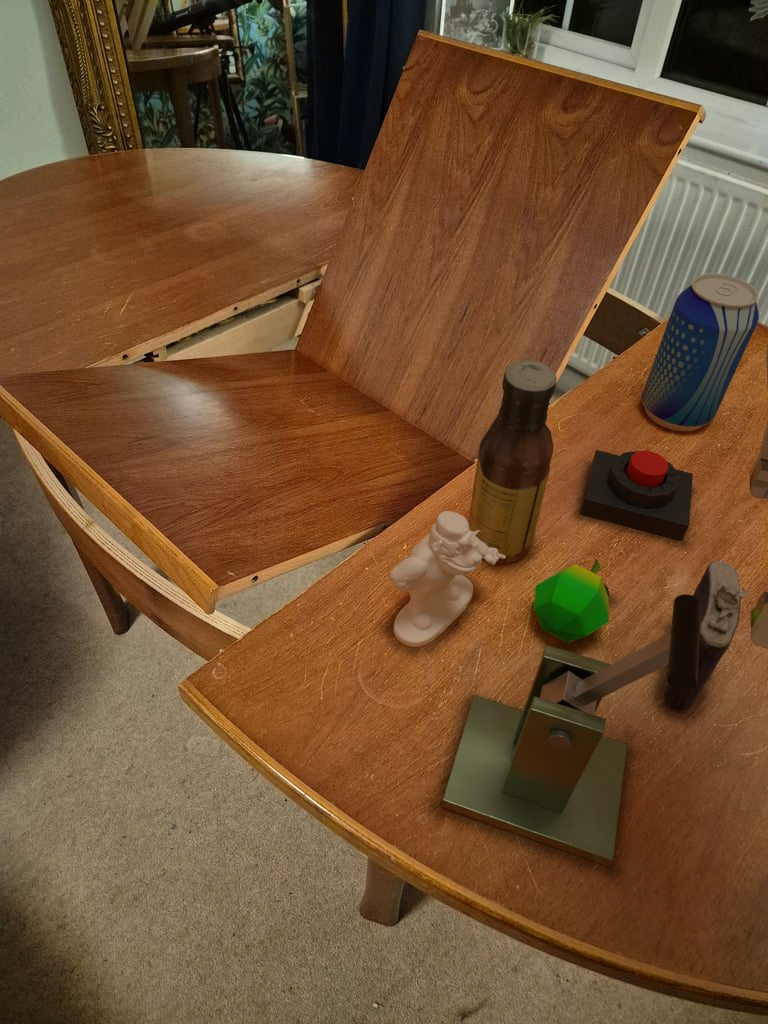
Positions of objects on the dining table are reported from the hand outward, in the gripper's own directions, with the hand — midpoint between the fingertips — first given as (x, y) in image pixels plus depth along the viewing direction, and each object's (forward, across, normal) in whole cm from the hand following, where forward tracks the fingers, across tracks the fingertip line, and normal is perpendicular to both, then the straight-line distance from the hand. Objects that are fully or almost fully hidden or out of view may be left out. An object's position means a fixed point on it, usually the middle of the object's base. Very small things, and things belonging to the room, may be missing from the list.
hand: (766, 556), depth 34 cm
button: (+24, +33, +2) cm, 41 cm away
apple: (+28, +16, +6) cm, 32 cm away
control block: (+27, +33, +2) cm, 43 cm away
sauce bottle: (+27, +22, +14) cm, 38 cm away
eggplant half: (+28, +14, -4) cm, 31 cm away
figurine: (+27, +12, +17) cm, 34 cm away
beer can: (+28, +50, -1) cm, 57 cm away
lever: (+13, 0, +3) cm, 13 cm away
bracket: (+27, 0, +6) cm, 28 cm away
